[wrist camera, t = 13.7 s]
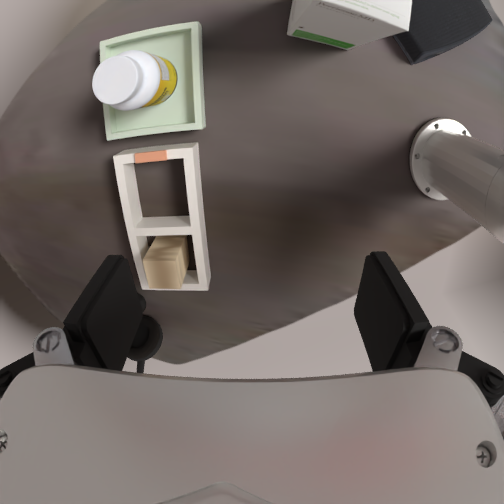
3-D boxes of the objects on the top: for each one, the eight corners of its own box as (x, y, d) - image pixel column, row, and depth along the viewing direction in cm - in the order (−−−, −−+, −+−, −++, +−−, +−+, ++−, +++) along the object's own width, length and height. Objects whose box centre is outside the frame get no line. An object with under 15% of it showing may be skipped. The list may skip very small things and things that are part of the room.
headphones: (137, 337, 54) (108, 423, 37) (100, 279, 47) (49, 367, 30) (174, 333, 53) (152, 427, 36) (140, 270, 46) (93, 368, 28)
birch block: (186, 234, 42) (175, 260, 36) (189, 260, 44) (180, 289, 38) (157, 235, 42) (142, 260, 36) (162, 260, 44) (149, 288, 38)
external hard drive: (356, -9, 24) (366, -18, 20) (442, -39, 18) (455, -45, 14) (411, 69, 29) (427, 69, 26) (486, 30, 23) (502, 29, 19)
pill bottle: (130, 107, 32) (84, 119, 22) (130, 60, 28) (83, 54, 18) (179, 103, 32) (147, 110, 22) (180, 54, 28) (147, 40, 18)
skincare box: (285, 35, 28) (306, -1, 15) (293, -8, 25) (317, -62, 11) (351, 52, 29) (410, 35, 15) (358, 9, 25) (416, -25, 12)
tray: (201, 25, 27) (198, 21, 25) (205, 126, 34) (202, 129, 32) (108, 43, 27) (99, 41, 25) (115, 137, 34) (107, 140, 32)
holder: (198, 142, 35) (191, 148, 32) (210, 276, 46) (207, 292, 42) (123, 150, 35) (111, 157, 32) (148, 276, 46) (141, 291, 43)
